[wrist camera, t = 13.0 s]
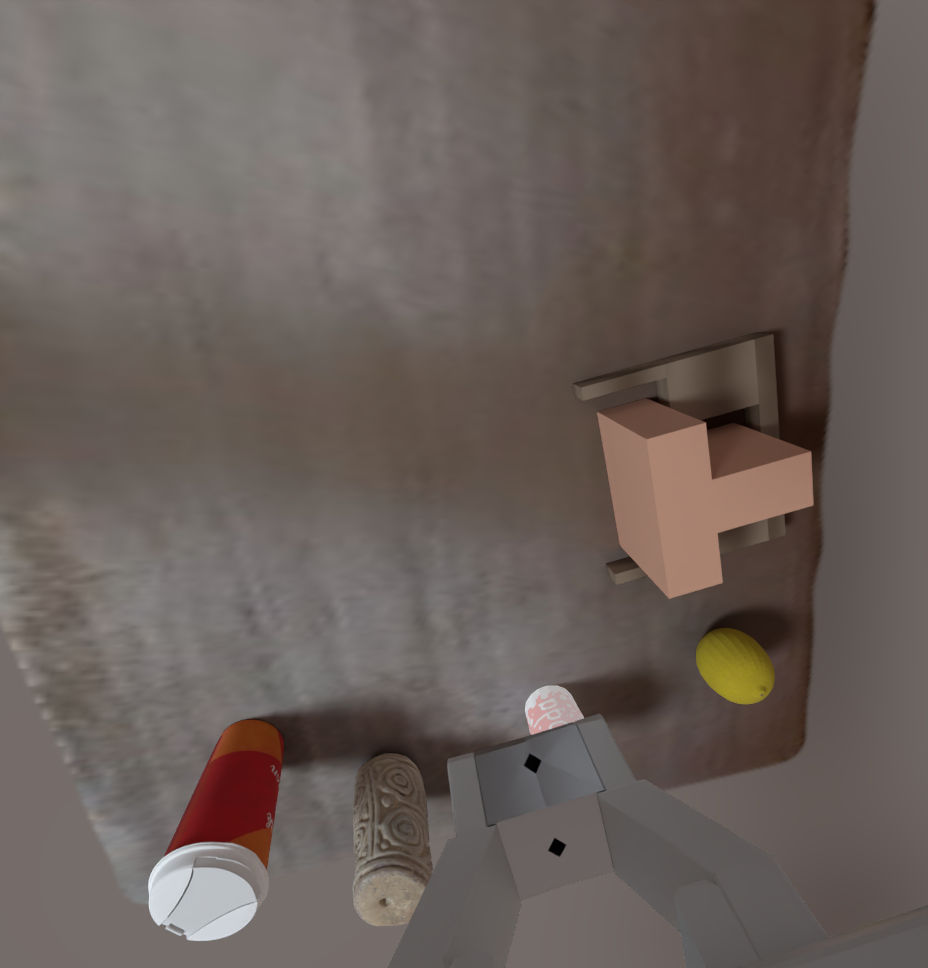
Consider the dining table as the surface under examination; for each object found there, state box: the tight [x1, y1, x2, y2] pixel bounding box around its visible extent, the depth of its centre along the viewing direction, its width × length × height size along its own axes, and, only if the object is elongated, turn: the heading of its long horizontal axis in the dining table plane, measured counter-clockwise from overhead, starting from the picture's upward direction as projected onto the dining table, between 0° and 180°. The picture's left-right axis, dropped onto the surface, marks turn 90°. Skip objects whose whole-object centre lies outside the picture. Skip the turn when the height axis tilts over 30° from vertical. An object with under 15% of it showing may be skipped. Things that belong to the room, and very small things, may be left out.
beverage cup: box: [525, 685, 584, 735], centre depth 46 cm, size 6×6×14 cm
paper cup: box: [148, 719, 284, 941], centre depth 44 cm, size 8×8×14 cm
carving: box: [353, 753, 433, 926], centre depth 48 cm, size 6×8×12 cm
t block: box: [597, 398, 813, 599], centre depth 43 cm, size 11×12×9 cm
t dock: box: [573, 332, 786, 585], centre depth 46 cm, size 15×17×2 cm
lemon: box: [696, 628, 775, 704], centre depth 49 cm, size 6×6×8 cm
